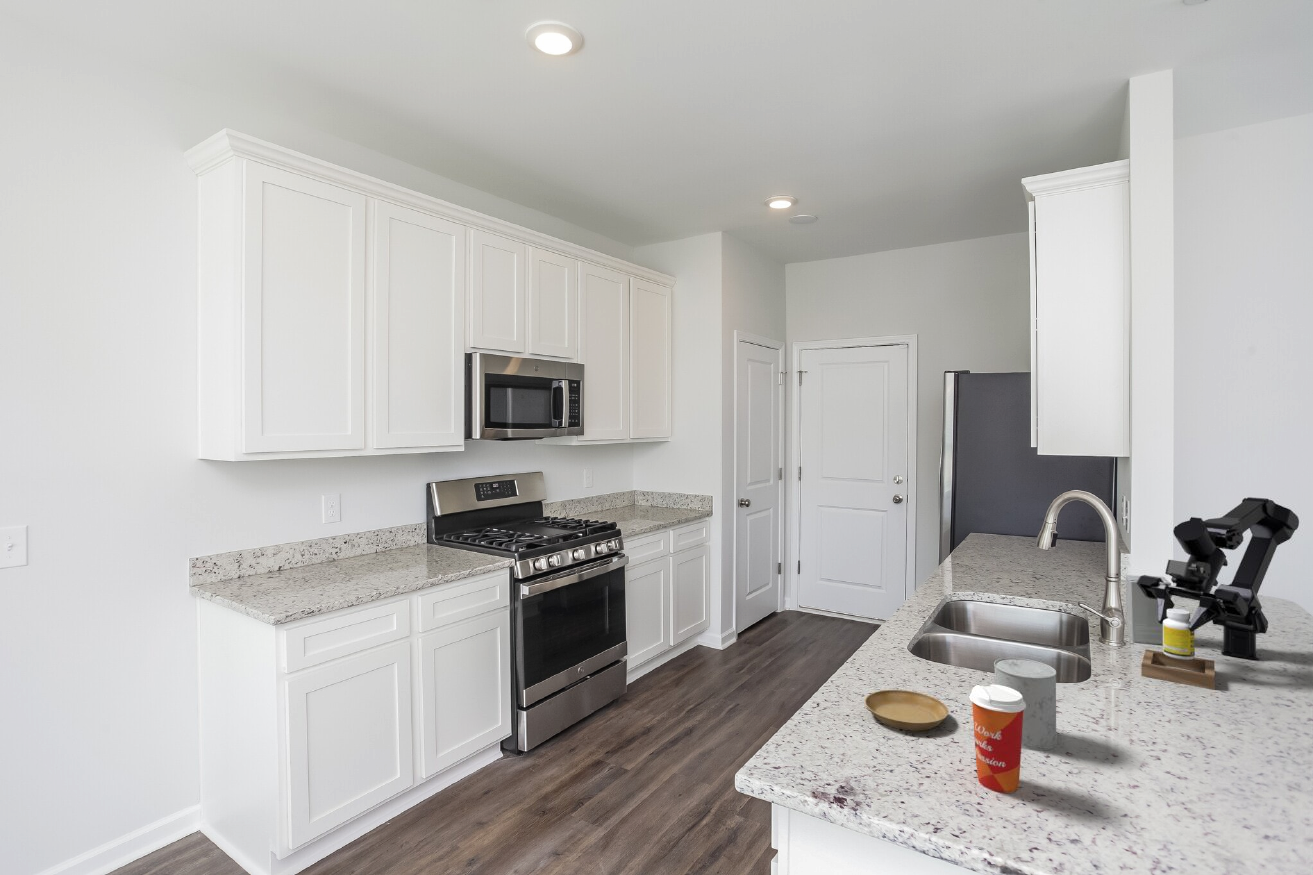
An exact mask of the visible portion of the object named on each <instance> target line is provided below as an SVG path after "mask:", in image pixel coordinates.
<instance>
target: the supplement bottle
mask: <svg viewBox="0 0 1313 875" xmlns="http://www.w3.org/2000/svg"><path fill="white" fill-rule="evenodd" d="M1167 617H1168V618H1167V619H1165V620H1164V621H1163V644H1162V652H1163V653H1164V654H1165V655H1167V656H1169V657H1172V658H1177V659H1185V660H1190V659H1193V658H1194V657H1195V655H1196V654H1195V653H1196V652H1195V647H1196V646H1195V643H1196V642H1195V639H1196V638H1195V632H1196V630H1194V631H1190V630H1189V625H1190V622H1191V621H1190V620H1191V612H1190V611H1189V610H1186V609H1182V608H1173V609H1167ZM1195 658H1196V657H1195Z"/></svg>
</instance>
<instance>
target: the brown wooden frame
mask: <svg viewBox="0 0 1313 875" xmlns="http://www.w3.org/2000/svg"><path fill="white" fill-rule="evenodd" d="M1215 665H1216V664H1215V660H1213V659H1207V658H1201V657H1200V658H1199V657H1194V658H1193V659H1190V660H1185V659H1177V658H1172V657H1169V656H1167V655H1165V654H1164V653H1163V651H1159V650H1153V649H1148V648H1146V649H1145V651H1144V653H1143V658H1142V661H1141V667H1140V668H1141V670H1140V672H1141V674H1140V675H1141V677H1145V678H1151V679H1155V680H1161V681H1166V682H1172V683H1176V684H1177V683H1178V684H1182V683H1183V685H1188V686H1192V685H1194V686H1193V687H1197V686H1199V687H1198V688H1202V689H1203V688H1204V689H1209V690H1212V691H1213V690H1215V689H1216V688H1215V687H1216V685H1215V681H1216V679H1215V678H1216V677H1215ZM1194 670H1195V671H1194Z"/></svg>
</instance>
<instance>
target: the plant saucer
mask: <svg viewBox="0 0 1313 875" xmlns="http://www.w3.org/2000/svg"><path fill="white" fill-rule="evenodd" d="M864 705H865V706H866V708H867V709H868V711H869V712H870V713H871V714H872V715H873V716H874V718H876V719H877V720H878V721H880V722H881V723H883V724H884V725H886V726H889V727H891V728H895V729H898V730H904V731H913V732H914V731H915V732H918V731H926V730H931V729H933V728H935V727H936V726H938V725H939V724H941V723H942V722H943V721H944V720H946V717H948V715H949V712H950V711H949V708H948V706H947V705H946V704H945V703H944V702H942V701H941V700H939V699H937V698H935V697H934V696H931V695H928V694H925V693H921V692H917V691H911V690H904V689H885V690H877V691H875V692H872V693H870V694H868V695H867V696H865V699H864Z"/></svg>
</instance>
